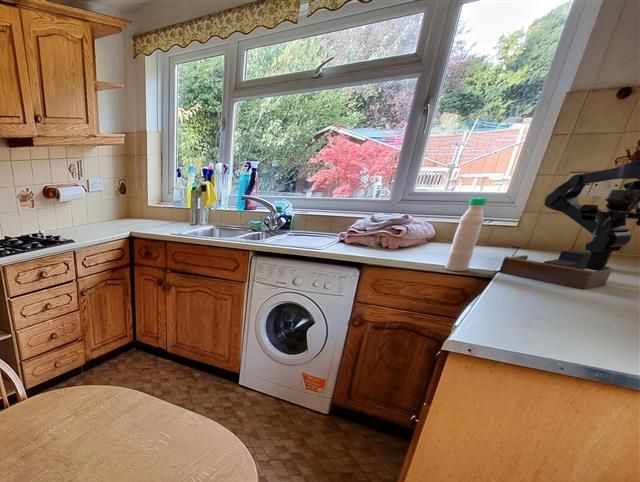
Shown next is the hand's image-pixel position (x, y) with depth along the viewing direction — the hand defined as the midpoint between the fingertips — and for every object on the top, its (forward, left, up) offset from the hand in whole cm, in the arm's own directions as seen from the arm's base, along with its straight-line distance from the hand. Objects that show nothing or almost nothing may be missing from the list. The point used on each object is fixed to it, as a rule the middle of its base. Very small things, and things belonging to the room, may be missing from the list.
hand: (596, 234), depth 148 cm
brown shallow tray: (+16, 0, -13) cm, 21 cm away
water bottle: (+31, -22, -13) cm, 41 cm away
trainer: (+10, 0, -13) cm, 17 cm away
